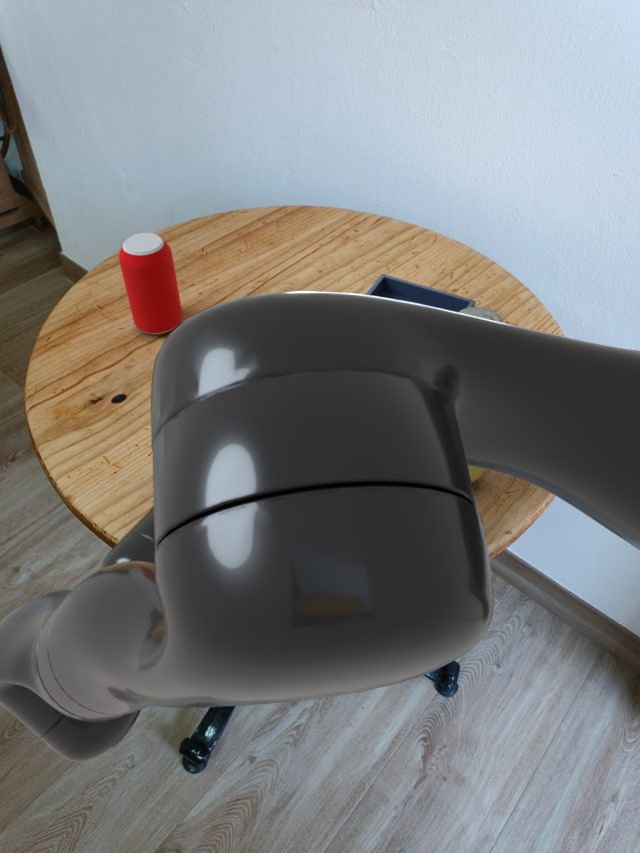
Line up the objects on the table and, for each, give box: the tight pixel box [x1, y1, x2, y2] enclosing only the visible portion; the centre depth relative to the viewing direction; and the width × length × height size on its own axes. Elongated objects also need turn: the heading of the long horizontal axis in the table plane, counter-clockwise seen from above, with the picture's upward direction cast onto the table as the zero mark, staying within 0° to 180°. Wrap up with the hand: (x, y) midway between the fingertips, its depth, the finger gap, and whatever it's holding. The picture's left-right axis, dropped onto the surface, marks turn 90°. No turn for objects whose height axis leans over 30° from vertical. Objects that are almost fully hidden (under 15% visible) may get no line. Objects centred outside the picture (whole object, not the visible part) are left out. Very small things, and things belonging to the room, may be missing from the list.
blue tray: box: [364, 273, 477, 312], centre depth 87 cm, size 13×14×3 cm
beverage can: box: [118, 232, 183, 335], centre depth 85 cm, size 6×6×12 cm
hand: (331, 375), depth 63 cm, fingers closed on pill bottle, 5 cm apart
